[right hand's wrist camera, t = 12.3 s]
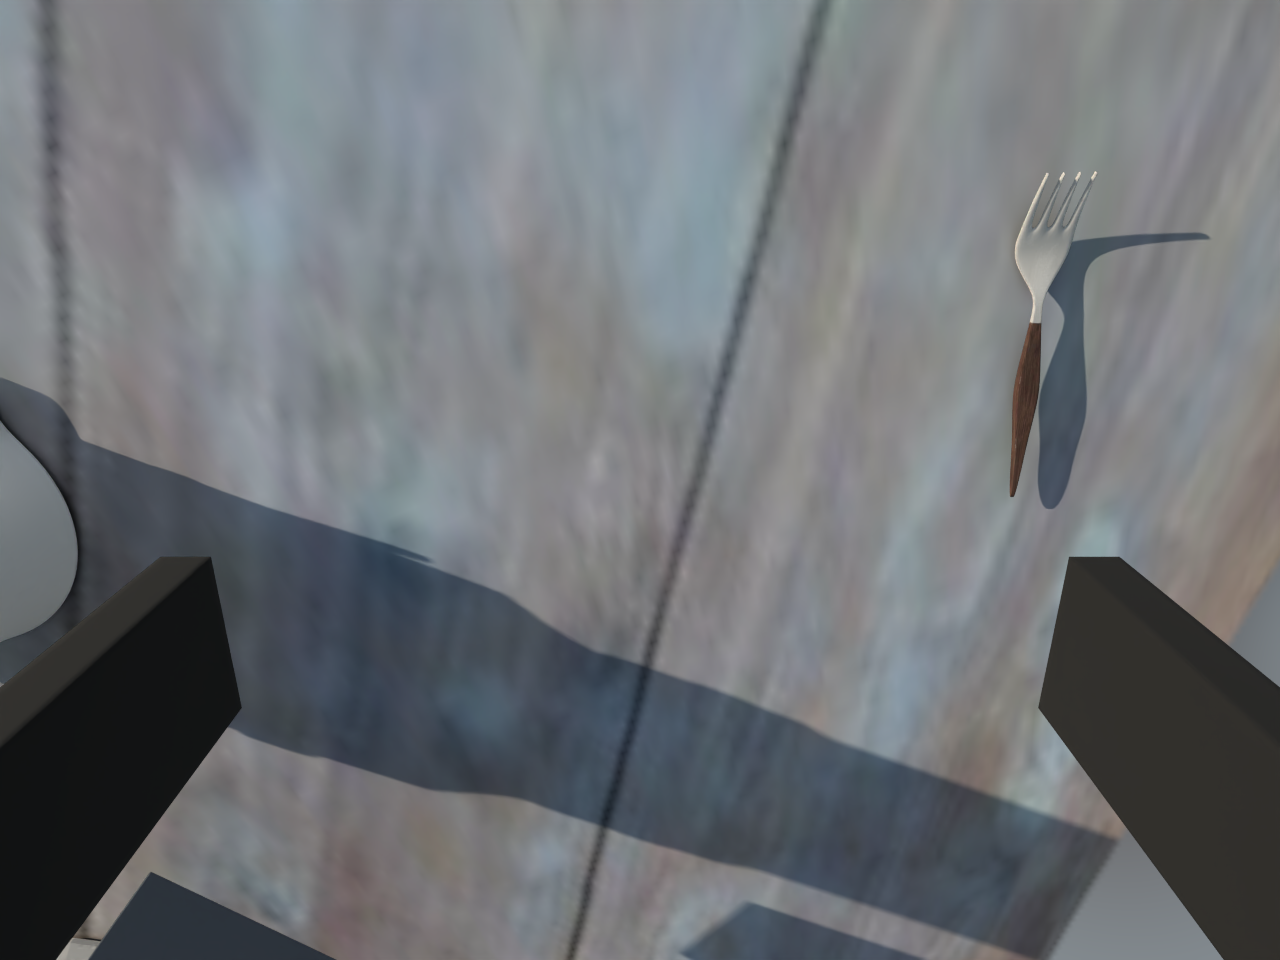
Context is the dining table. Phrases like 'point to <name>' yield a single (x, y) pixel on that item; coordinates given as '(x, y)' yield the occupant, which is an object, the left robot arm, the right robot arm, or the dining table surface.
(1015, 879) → the dining table surface
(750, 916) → the dining table surface
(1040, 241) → the fork
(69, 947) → the wall clock
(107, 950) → the box
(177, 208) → the dining table surface
